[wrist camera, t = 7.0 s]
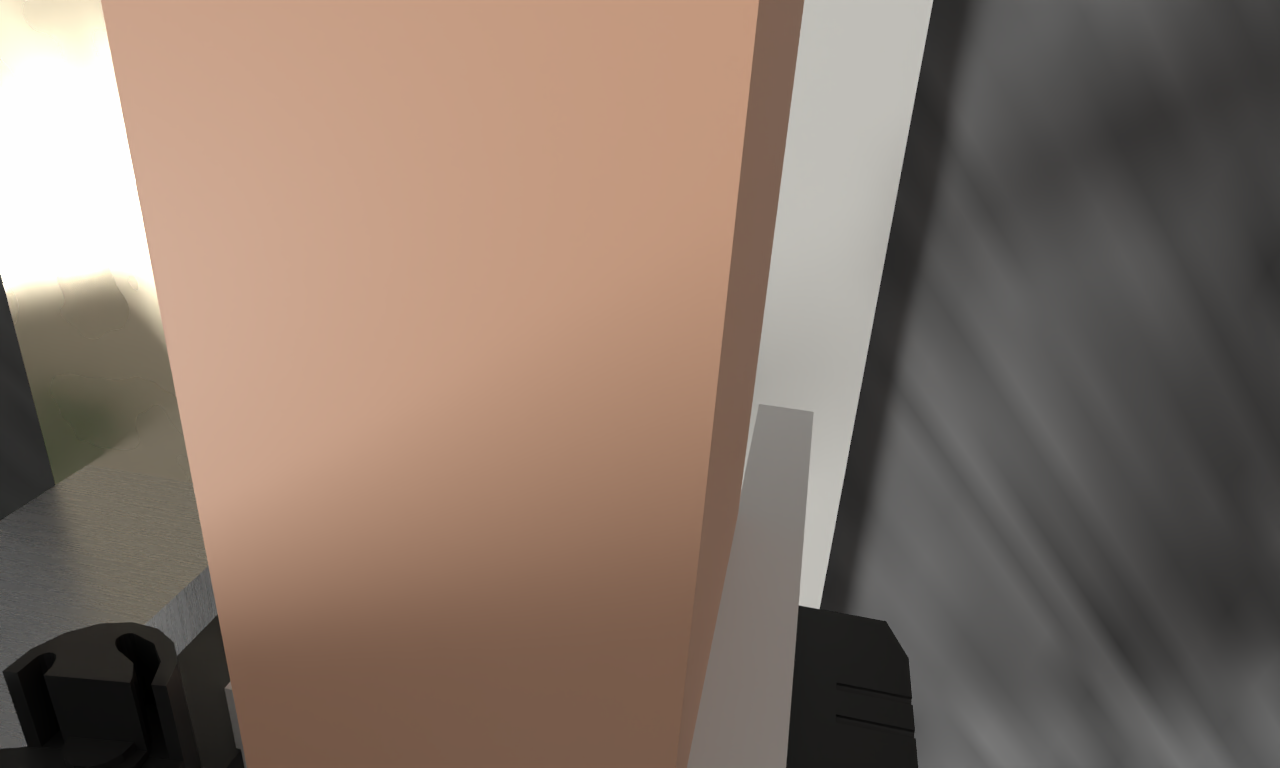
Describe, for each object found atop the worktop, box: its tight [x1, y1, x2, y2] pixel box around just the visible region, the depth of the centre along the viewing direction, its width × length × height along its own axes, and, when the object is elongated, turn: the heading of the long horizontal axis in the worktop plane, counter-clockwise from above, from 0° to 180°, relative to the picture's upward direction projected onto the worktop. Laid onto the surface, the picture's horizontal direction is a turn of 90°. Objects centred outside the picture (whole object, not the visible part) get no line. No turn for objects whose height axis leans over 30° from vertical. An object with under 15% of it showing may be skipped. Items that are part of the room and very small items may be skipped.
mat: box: [741, 0, 933, 609], centre depth 19 cm, size 27×7×1 cm, turn 176°
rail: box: [101, 0, 804, 768], centre depth 9 cm, size 26×3×4 cm, turn 176°
